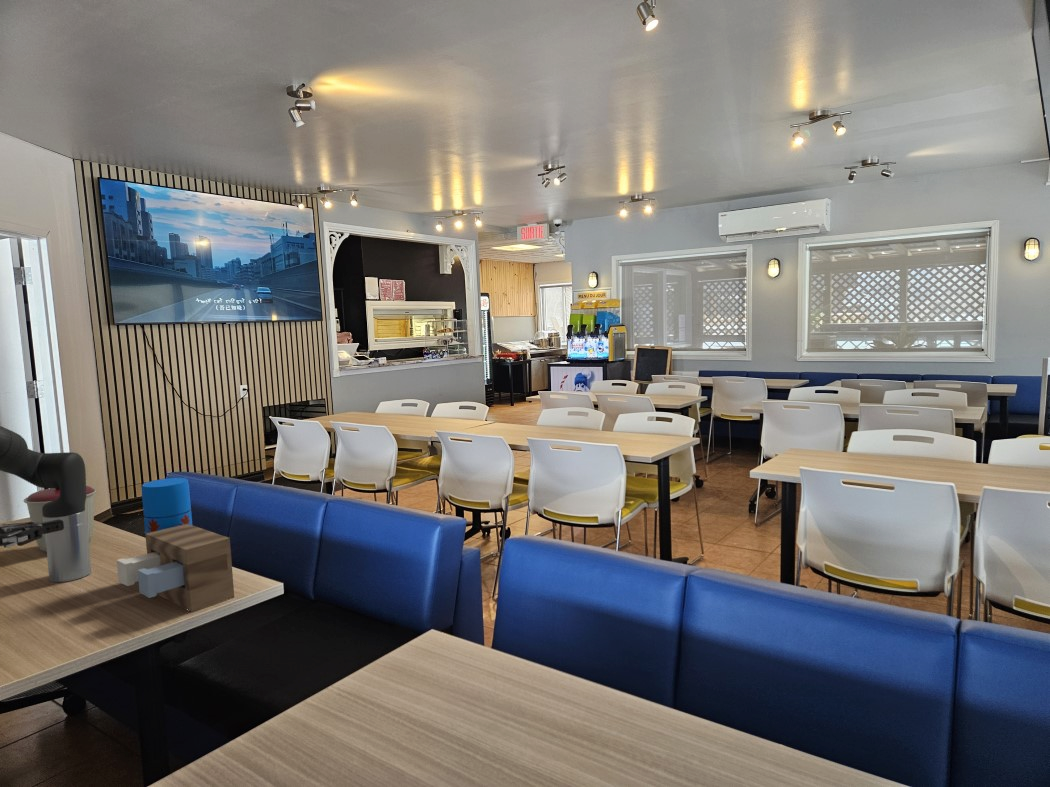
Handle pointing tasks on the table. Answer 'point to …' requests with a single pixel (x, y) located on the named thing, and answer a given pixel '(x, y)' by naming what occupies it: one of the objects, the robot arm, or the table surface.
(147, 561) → the key white
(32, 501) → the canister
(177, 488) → the thermos
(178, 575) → the key blue
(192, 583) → the housing
